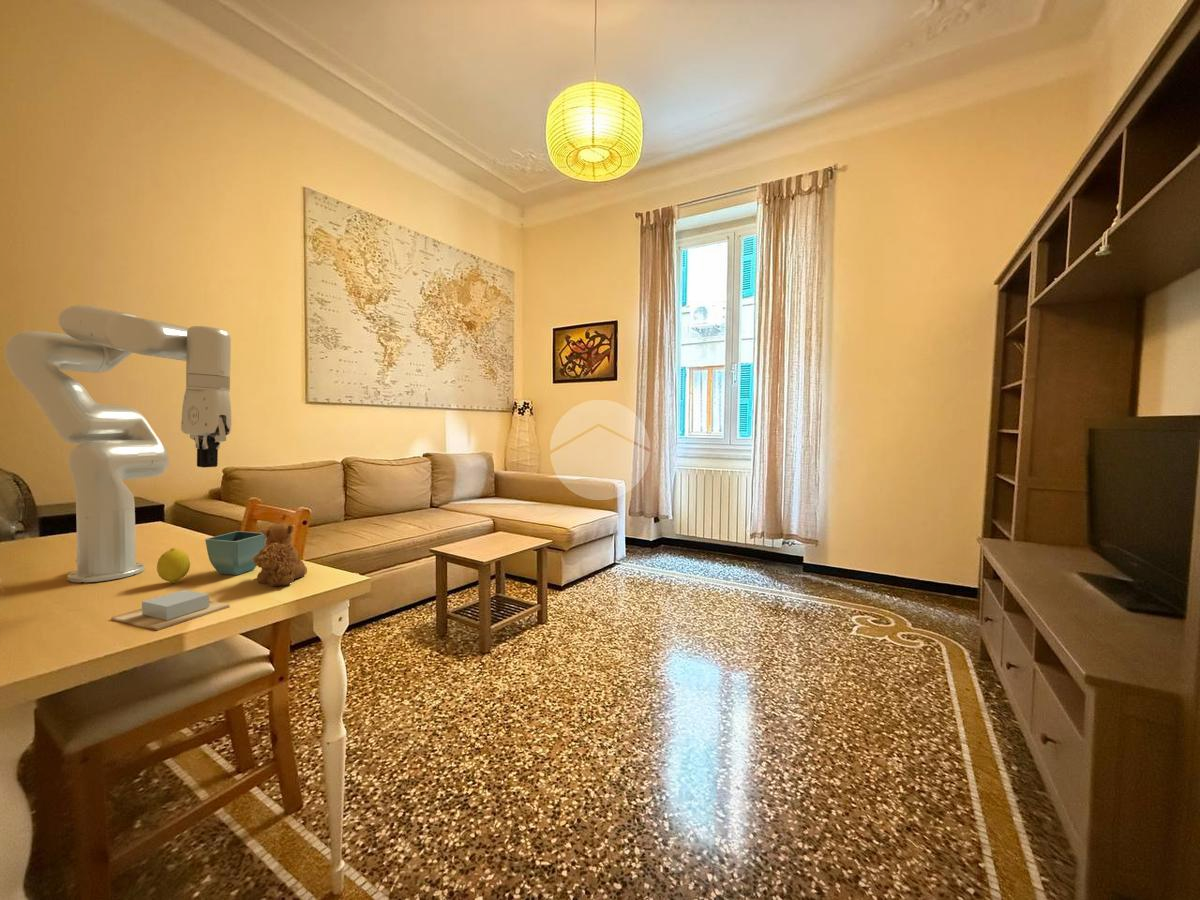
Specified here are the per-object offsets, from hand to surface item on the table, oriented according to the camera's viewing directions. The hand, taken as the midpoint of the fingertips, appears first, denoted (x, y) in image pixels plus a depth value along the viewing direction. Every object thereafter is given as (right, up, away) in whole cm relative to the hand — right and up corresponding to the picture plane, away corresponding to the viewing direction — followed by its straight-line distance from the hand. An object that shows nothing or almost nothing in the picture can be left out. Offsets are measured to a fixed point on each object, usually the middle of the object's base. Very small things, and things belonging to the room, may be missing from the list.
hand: (207, 466), depth 106 cm
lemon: (-9, -27, +1) cm, 28 cm away
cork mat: (+6, -28, -15) cm, 32 cm away
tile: (+4, -26, -14) cm, 30 cm away
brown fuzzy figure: (+13, -27, +5) cm, 30 cm away
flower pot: (-1, -26, +11) cm, 29 cm away
